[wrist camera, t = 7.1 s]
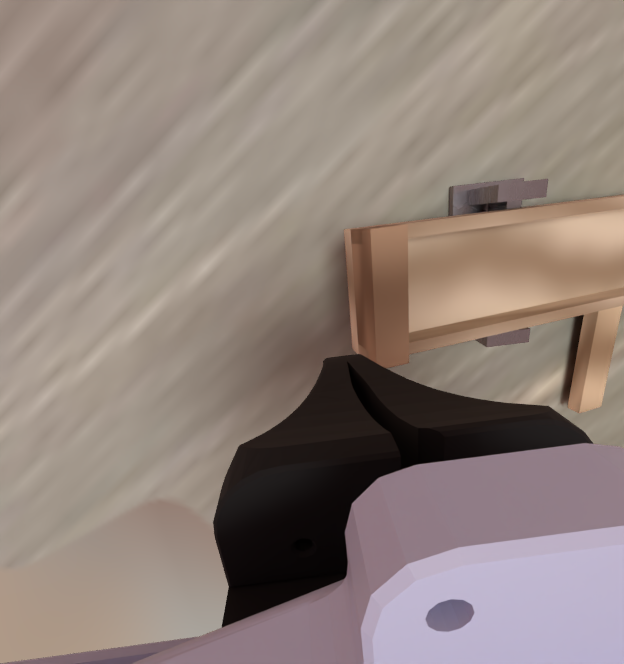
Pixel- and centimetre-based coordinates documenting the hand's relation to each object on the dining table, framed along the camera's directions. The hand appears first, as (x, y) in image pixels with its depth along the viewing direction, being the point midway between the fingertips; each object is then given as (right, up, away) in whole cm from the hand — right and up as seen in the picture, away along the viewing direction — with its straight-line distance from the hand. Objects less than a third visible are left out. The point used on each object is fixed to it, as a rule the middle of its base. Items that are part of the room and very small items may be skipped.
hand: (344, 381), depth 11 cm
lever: (+10, +2, +8) cm, 12 cm away
